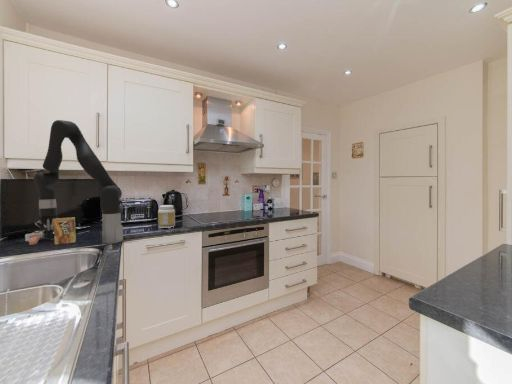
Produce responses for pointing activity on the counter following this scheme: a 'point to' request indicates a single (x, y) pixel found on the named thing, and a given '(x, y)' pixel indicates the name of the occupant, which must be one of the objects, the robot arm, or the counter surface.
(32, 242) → the link
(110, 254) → the counter surface
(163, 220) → the supplement tub
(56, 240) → the candy box
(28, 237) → the steel keeper
